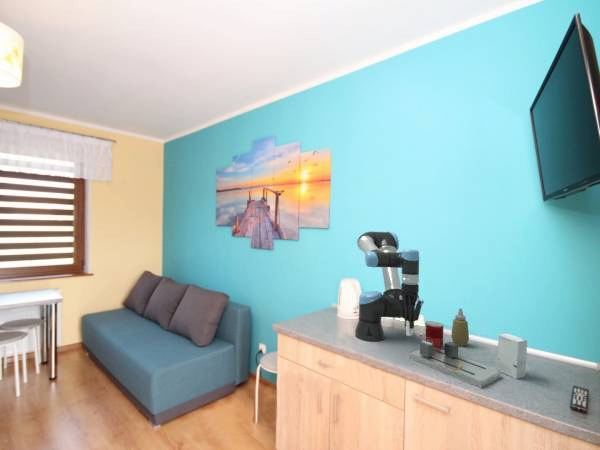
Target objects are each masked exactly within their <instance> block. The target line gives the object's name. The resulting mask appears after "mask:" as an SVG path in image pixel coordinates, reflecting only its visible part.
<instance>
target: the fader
mask: <svg viewBox="0 0 600 450" xmlns="http://www.w3.org/2000/svg"><path fill="white" fill-rule="evenodd" d="M419 349H420V354H421V355H423V356H426V357H431V356H433V355H434V344H433V343H430V342H427V341H426V340H421V341H420V342H419Z"/></svg>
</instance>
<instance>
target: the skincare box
mask: <svg viewBox="0 0 600 450" xmlns="http://www.w3.org/2000/svg"><path fill="white" fill-rule="evenodd" d="M497 341H498V342H497V354H496V356H497V357H496V368H495V369H498V370H500V371H501V374H502V373H503V374H505V375H507V376H510V377H512V378H513V379H515V380H517V379H521V378H524V377H526V367H527V366H526V364H527V353H528V352H527V351H528V350H527V349H528V348H527V347H528V340H526V339H524V338H521V337H520V336H516V335H513V334H510V333H501V334H498V340H497Z"/></svg>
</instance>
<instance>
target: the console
mask: <svg viewBox="0 0 600 450" xmlns="http://www.w3.org/2000/svg"><path fill="white" fill-rule="evenodd" d="M443 346H444V350H443V349H442V348H436V347H434V355H433V356H431V357H426V356H423V355H421V354H420V348H419V349H417V350H414V351H411V352H409V359H411V360H412V361H415V362H417V363H419V364H422V365H424V366H427V367H429V368H431V369H434V370H437V371H439V372H440V373H443V374H446V375H448V376H451V377H453V378H456V379H458V380H460V381H462V380H463V382H465V383H467V382H468V383H467V384H470V385H472V386H475V387H477V388H480V389H483V388H484V387H486V386H487V385H490V384H491V383H493V382H494V381H495V382H496V381H497V380H498V379H500V378H501V376H502V375H501V374H502V372H501V371H500V370H498V369H496V368H495V367H492V366H489V365H486V364H483V363H480V362H477V361H475V360H472V359H469V358H466V357H464V356H460V355H459V346H458V344H455V343H453V341H452V342H451V341H448V342H445V343H444V345H443Z"/></svg>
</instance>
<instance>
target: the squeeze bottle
mask: <svg viewBox="0 0 600 450" xmlns="http://www.w3.org/2000/svg"><path fill="white" fill-rule="evenodd" d="M454 317H455V318H454V319H452V320H453V321H452V327H451V336H450V337H451V339H452V340H451V341H452V343H455V344H458V347H459V346H460V347H466V346H467V345H468V343H469V339H470V335H469V333H470V332H469V324H468V321H467V318H466V316H465V315H464V312H463V308H461V307H460V308H459V309H458V312H457V314H455V316H454Z"/></svg>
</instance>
